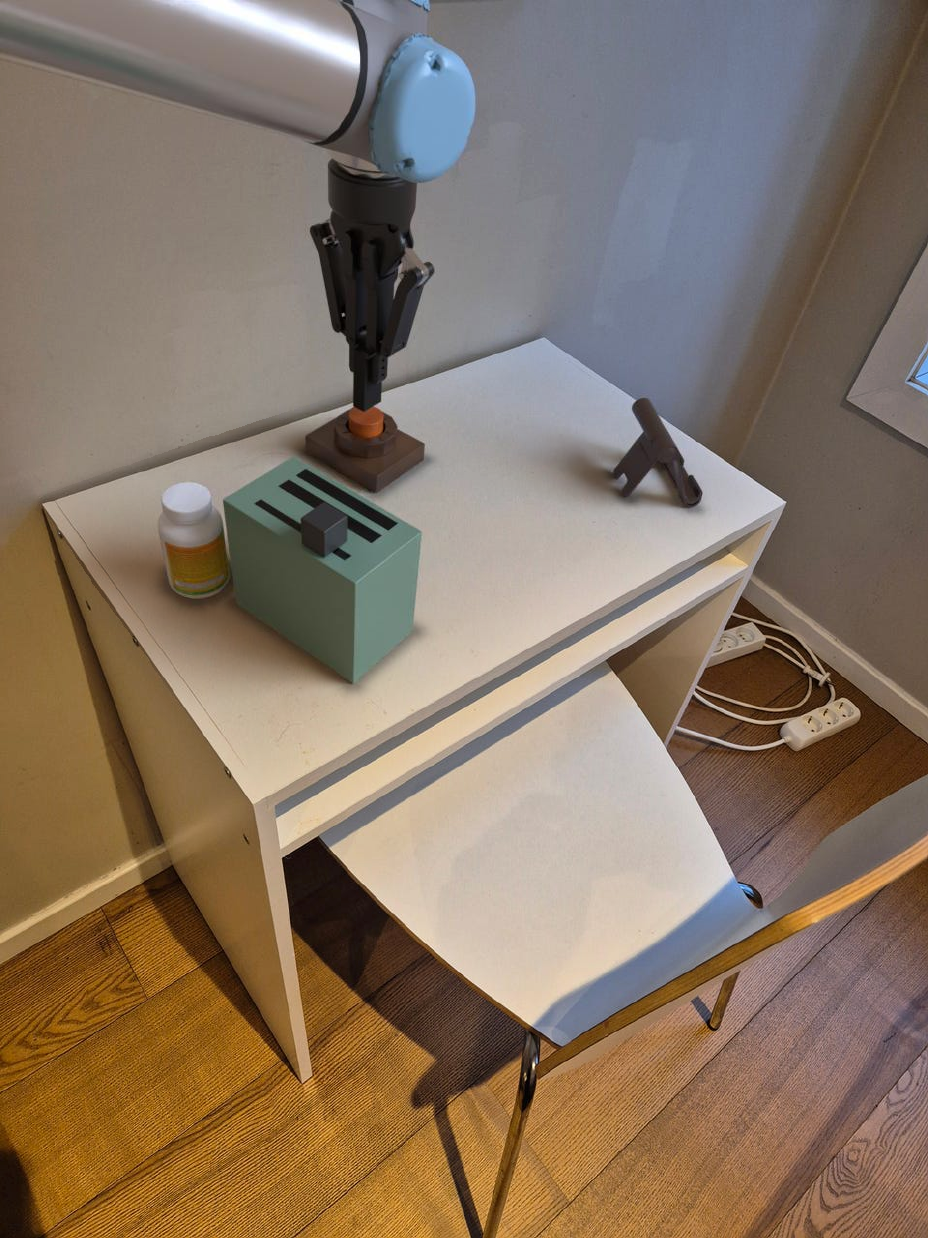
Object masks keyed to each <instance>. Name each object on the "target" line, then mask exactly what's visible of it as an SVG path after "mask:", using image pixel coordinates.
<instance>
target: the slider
mask: <svg viewBox="0 0 928 1238" xmlns="http://www.w3.org/2000/svg"><path fill="white" fill-rule="evenodd" d="M301 538H302V544H304V545H305V546H307V547H308V548H310V549H311V550H313V551H315V552H316V553H318V554H319V555H321V556H323V557H326V556H328V555H329V554H330V553H332V552H333V551H334V550H336V549H337V548H339V547H340V546H341V545H343V544H344V543H345V542H347V515H345V514H343V513H342V512H340V511H338V510H337V509H335V508H333V507H332V506H330V505H328V504H327V503H325V502H324V503H322V504H321V505H319V506H318V507H316V508H315V509H313V510H312V511H310V512H309V513H307V514H306V515H304V516H303V517H301Z"/></svg>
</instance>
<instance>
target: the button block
mask: <svg viewBox="0 0 928 1238" xmlns="http://www.w3.org/2000/svg"><path fill="white" fill-rule="evenodd" d="M352 408H354V407H353V406H352V407H351V408H350V409H349V408H348V409H347V410H345V411H344V412H342V413H340V414H339V415H337V416H336V417H334V418H333V419H331V420H329V421H328V422H326V423H324V424H322V425H321V426H319V427H317V428H316V429H314V430H312V431H311V432H310V433H307V434H306V435H305V436H304V440H305V441H304V442H305V453H306V454H308V455H309V456H311V457H313V458H315V459H316V460H317V461H319V462H321V463H323V464H325V465H326V466H328V467H330V468H331V469H333V470H335V471H337V472H338V473H340V474H342V475H344V476H345V477H347V478H349V479H351V480H352V481H354V482H355V483H357V484H359V485H361V486H363V487H364V488H366V489H368V490H370V491H371V492H373V493H375V494H377V493H379V492H380V491H382V490H383V489H384V488H386V487H387V486H389V485H390V484H392V483H393V482H394V481H396V480H397V479H399V478H400V477H402V476H403V475H404V474H406V473H408V472H409V471H410V470H411V469H413V468H414V467H416V466H417V465H419V464H420V463H422V462H423V461H424V459H425V448H426V447H425V446H426V443H424V442H422V441H420V440H419V439H417V438H415V437H413V436H411V435H410V434H408V433H406V432H404V431H402V430H400V429H399V428H398V424H397V423H396V421H395V419H394V418H393V416H392V415H390V414H388V413H386V412H384V411H382V413H383V431H382V433H381V434H380V435H379V436H376V437H370V438H365V437H359V436H356V435H354V434H352V433H351V432H350V431H349V412H350V410H351V409H352Z"/></svg>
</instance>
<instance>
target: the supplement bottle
mask: <svg viewBox="0 0 928 1238" xmlns="http://www.w3.org/2000/svg"><path fill="white" fill-rule="evenodd" d="M160 503H161V508H162V512H161V514H160V515H159V518H158V520H157V532H158V536H159V541H160V545H161V551H162V555H163V561H164V566H165V572H166V575H167V580H168V583H169V586H170V587H171V589H172V590H173V591H174V592H175V593H176V594H178V595H180V596H182V597H185V598H189V599H194V600H195V599H205V598H206V599H207V598H210V597H212V596H215V595H217V594H219V593H220V592H222V591H223V590H224V588H226V586H227V585H228V584H229V581H230V576H231V575H230V566H229V565H230V564H229V559H228V551H227V544H226V536H225V527H224V522H223V521H224V520H223V517H222V514H221V512H220V511H219V510H218V509H217V507H215V506H214V505H213V502H212V495H211V492H210V490H209V489H208V488H207V487H206V486H204V485H203V484H200V483H196V482H192V481H191V482H190V481H186V482H178V483H174V484H172V485H170V486H169V487H167V488H165V490H164V491H163V492H162V494H161V497H160Z"/></svg>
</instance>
